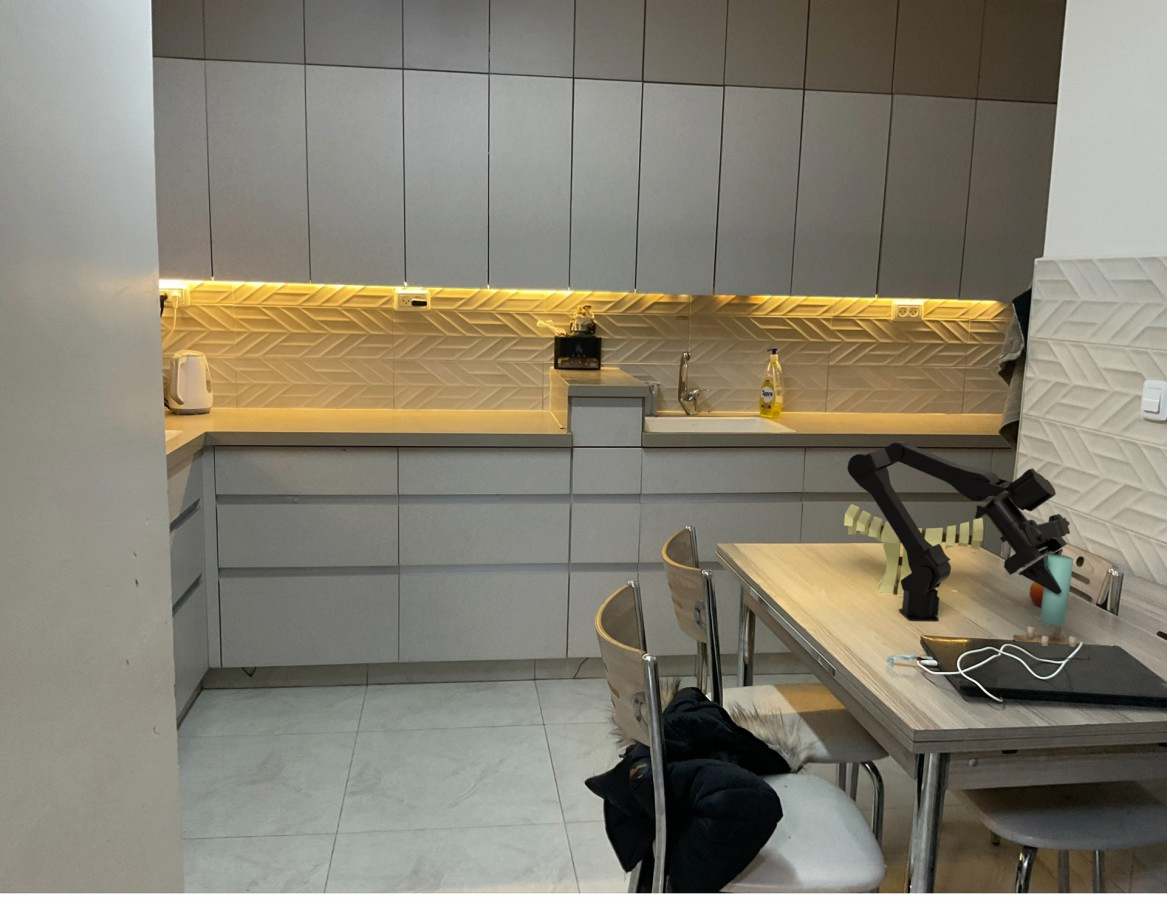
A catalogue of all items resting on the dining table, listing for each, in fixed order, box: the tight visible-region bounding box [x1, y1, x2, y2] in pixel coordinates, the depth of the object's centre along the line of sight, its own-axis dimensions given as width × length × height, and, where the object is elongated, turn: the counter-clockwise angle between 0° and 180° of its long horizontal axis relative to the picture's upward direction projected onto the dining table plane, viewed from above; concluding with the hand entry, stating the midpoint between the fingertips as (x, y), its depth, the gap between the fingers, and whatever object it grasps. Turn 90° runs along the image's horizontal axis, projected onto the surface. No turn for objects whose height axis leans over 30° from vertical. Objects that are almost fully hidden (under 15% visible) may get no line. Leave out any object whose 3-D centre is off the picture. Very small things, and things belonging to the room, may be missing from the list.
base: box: [1012, 625, 1077, 647], centre depth 192 cm, size 10×10×4 cm
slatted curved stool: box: [843, 504, 984, 596], centre depth 230 cm, size 30×16×18 cm, turn 69°
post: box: [1039, 554, 1074, 626], centre depth 190 cm, size 4×4×13 cm
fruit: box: [1029, 581, 1044, 608], centre depth 220 cm, size 8×8×8 cm
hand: (1063, 590), depth 189 cm, fingers closed on post, 4 cm apart
